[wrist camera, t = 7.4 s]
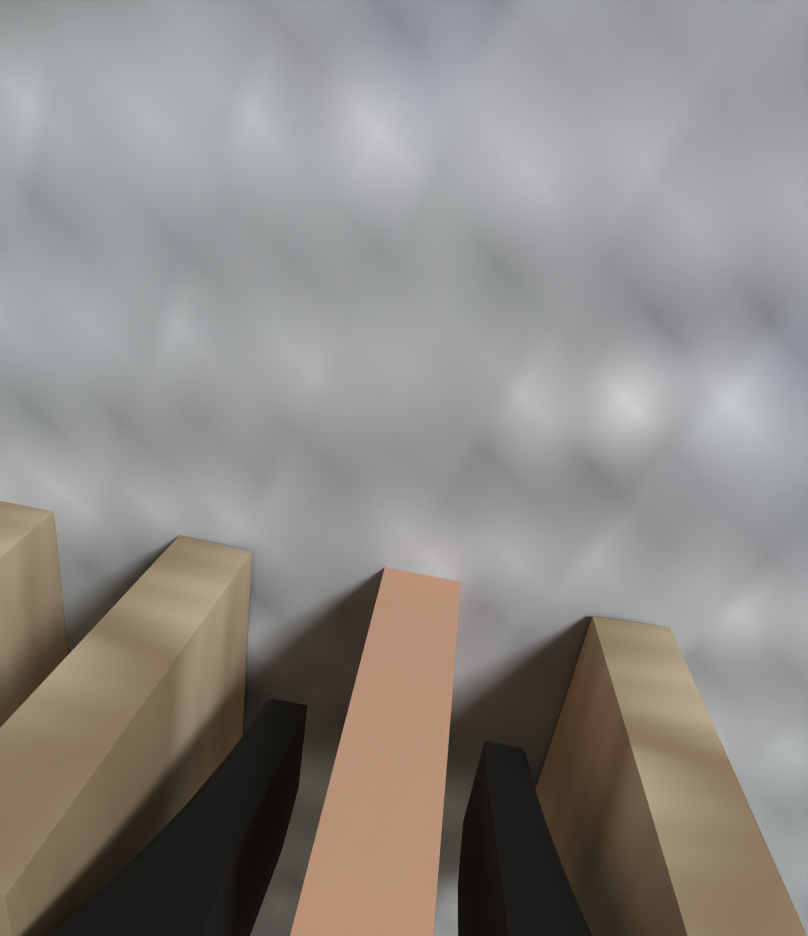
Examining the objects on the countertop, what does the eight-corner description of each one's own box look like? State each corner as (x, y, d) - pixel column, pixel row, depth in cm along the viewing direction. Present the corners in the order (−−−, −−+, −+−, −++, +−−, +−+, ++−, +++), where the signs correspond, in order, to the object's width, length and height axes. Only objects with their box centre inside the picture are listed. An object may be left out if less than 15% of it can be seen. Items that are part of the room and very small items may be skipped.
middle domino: (180, 730, 15) (-49, 1099, 9) (179, 535, 13) (-122, 859, 7) (242, 747, 15) (47, 1131, 9) (252, 551, 13) (4, 897, 7)
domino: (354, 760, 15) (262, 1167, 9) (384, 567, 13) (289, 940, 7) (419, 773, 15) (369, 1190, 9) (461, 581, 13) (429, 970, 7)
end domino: (530, 805, 15) (586, 1255, 9) (592, 616, 12) (721, 1050, 7) (595, 814, 15) (695, 1269, 9) (669, 627, 12) (866, 1070, 7)
